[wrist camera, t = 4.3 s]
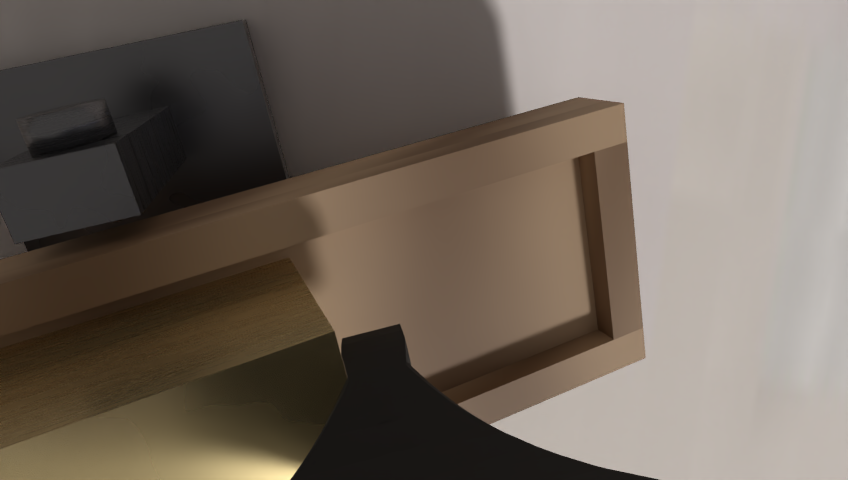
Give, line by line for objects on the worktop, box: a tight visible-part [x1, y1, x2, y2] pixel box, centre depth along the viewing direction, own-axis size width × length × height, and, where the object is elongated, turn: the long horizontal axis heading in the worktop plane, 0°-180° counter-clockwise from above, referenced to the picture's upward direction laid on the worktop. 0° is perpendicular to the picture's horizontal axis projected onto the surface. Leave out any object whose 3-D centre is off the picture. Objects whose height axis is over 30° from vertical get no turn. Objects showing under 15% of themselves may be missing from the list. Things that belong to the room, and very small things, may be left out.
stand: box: [0, 20, 289, 252], centre depth 14 cm, size 6×12×5 cm, turn 11°
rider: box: [0, 258, 347, 480], centre depth 10 cm, size 6×4×4 cm, turn 102°
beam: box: [0, 97, 645, 424], centre depth 13 cm, size 20×6×5 cm, turn 102°
